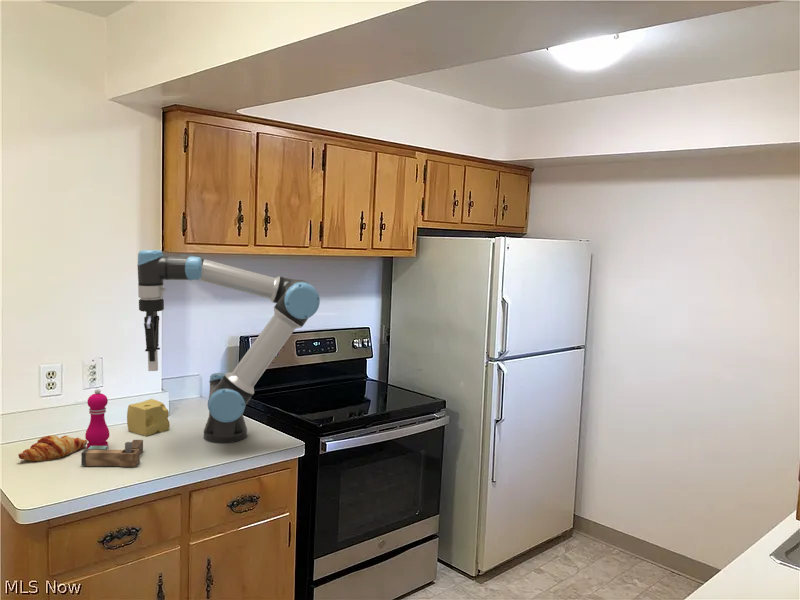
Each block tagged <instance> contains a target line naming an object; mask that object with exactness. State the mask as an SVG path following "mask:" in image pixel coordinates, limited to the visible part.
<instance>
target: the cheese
mask: <svg viewBox="0 0 800 600" xmlns="http://www.w3.org/2000/svg"><path fill="white" fill-rule="evenodd" d="M169 417H170V413H169V410H168V408H167V406H166V405H165V404H164V403H163V402H161V401H159V400H158V399H154V398H150V399H147V400H143V401H139V402H136V403H131V404H128V407H127V412H126V424H127V430H128V432H130V433H134V434H137V435H141V436H143V437H148V436H151V435H155V434H156V433H163V432H167V431H169V430H170V427H171V426H170V425H171V424H170V420H169Z"/></svg>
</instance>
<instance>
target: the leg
mask: <svg viewBox="0 0 800 600" xmlns="http://www.w3.org/2000/svg"><path fill="white" fill-rule="evenodd" d="M140 457H141V455H140V449H132V453H125V448H124V449H108V450H89V449H87V448H86V449H84V450H82V452H81V459H80V460H81V467H96V466H98V467H100V466H101V467H102V466H103V467H108V466H109V467H119V466H120V467H121V468H123V467H124V468H126V467H128V468H129V467H131V468H135V467H137V466H138V464H139V463H140V459H141V458H140Z"/></svg>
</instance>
